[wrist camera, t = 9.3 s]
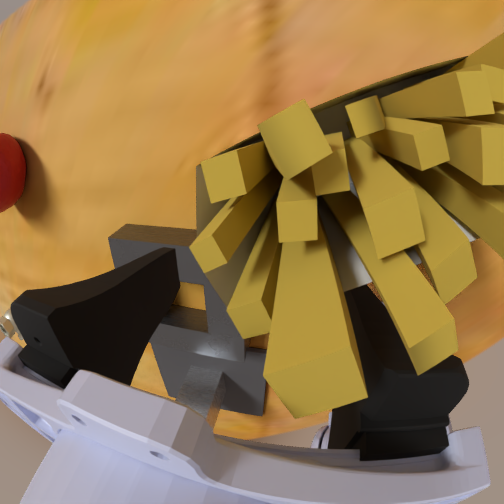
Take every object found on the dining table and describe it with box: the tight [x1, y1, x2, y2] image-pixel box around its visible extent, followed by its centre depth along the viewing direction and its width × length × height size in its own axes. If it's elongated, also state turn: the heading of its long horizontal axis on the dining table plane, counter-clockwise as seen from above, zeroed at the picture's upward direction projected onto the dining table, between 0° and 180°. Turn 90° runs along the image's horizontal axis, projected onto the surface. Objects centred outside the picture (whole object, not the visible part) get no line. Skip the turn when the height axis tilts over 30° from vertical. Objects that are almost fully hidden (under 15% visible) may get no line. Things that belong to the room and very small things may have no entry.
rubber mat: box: [151, 343, 267, 416], centre depth 33 cm, size 14×14×1 cm
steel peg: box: [175, 366, 226, 430], centre depth 29 cm, size 4×4×8 cm
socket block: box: [108, 224, 250, 362], centre depth 25 cm, size 12×12×3 cm
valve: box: [0, 308, 23, 340], centre depth 37 cm, size 7×7×12 cm
